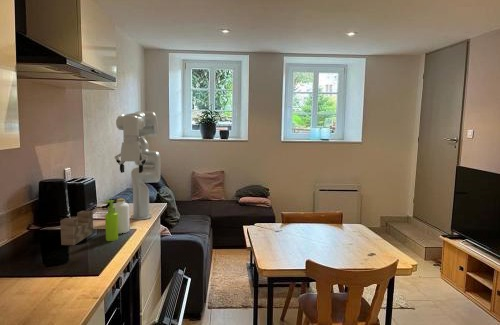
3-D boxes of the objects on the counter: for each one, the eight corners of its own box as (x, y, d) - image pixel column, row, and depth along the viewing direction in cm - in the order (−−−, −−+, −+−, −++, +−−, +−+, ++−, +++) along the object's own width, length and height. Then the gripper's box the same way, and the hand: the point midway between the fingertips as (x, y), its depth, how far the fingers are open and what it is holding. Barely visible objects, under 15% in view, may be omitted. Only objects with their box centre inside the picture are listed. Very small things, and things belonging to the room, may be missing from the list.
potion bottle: (132, 230, 198) (131, 198, 196) (125, 234, 190) (124, 201, 188) (117, 229, 199) (116, 197, 197) (110, 234, 191) (109, 200, 189)
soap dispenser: (101, 240, 180) (100, 200, 178) (113, 236, 186) (112, 198, 184) (109, 242, 177) (108, 202, 175) (120, 238, 183) (119, 200, 181)
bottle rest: (82, 232, 192) (81, 210, 191) (93, 233, 192) (92, 211, 191) (61, 245, 172) (60, 220, 171) (73, 245, 172) (72, 220, 171)
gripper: (150, 139, 189) (150, 172, 190) (117, 139, 190) (118, 171, 191) (145, 139, 181) (145, 173, 182) (111, 139, 182) (112, 173, 183)
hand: (131, 172), depth 187 cm, fingers open, 9 cm apart
